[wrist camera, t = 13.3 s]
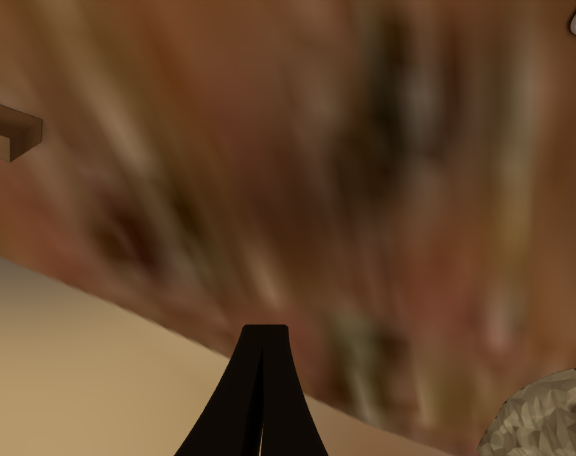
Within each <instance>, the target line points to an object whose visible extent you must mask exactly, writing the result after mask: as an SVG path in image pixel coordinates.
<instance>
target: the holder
mask: <svg viewBox="0 0 576 456" xmlns="http://www.w3.org/2000/svg"><path fill="white" fill-rule="evenodd" d="M41 132H42V120H41V119H38V118H35V117H32V116H29V115H27V114H24V113H21V112H18V111H16V110H13V109H10V108H7V107H4V106H2V105H0V160H3V161H6V162H9V163H10V162H12V161H13V160H15V159H16V158H18V157H19V156H21V155H22V154H24V153H25V152H27V151H28V150H30V149H31V148H33V147H34V146H36V145H37V144H39V143H40V142H41Z"/></svg>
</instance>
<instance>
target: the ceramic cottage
mask: <svg viewBox="0 0 576 456" xmlns="http://www.w3.org/2000/svg"><path fill="white" fill-rule="evenodd" d="M478 451H479V454H480V455H479V456H576V370H574V369H573V368H572V369H568V370H564V371H561V372H557V373H553V374H551V375H548V376H546V377H544V378H542V379H540V380H538V381H536V382H534V383H532V384H530V385H528V386H526V387H525V388H524V389H522V390H520V391H518V392H516V393H515V394H514V395H512V396H511V397H510V398H509V399H508V400H507V402H506V403H504V404H503V406H502V408H501V409H500V411H499V413H498V414H497V418H496V419H494V422H493V423H492V424H491V425H490V427H489V428H488V430H487V433H486V434H485V435H484V437H483V438H482V441H481V442H480V444H479V446H478Z"/></svg>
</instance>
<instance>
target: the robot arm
mask: <svg viewBox="0 0 576 456" xmlns="http://www.w3.org/2000/svg"><path fill="white" fill-rule="evenodd" d="M571 31H572V32H573V33H574V34H575V35H576V15H575V16H574V18H573V20H572V22H571ZM262 429H263V434H262ZM261 437H262V445H261V456H328V454H327V451H326V449H325V447H324V445H323V443H322V440H321V438H320V436H319V434H318V432H317V429H316V426H315V424H314V422H313V419H312V417H311V414H310V411H309V409H308V406H307V403H306V401H305V398H304V395H303V392H302V389H301V386H300V382H299V379H298V376H297V373H296V369H295V366H294V362H293V357H292V353H291V348H290V342H289V333H288V327H287V326H286V325H245V326H244V327H243V328H242V332H241V335H240V337H239V340H238V343H237V345H236V348H235V350H234V352H233V355H232V357H231V359H230V361H229V364H228V366H227V368H226V370H225V372H224V374H223V376H222V378H221V380H220V382H219V384H218V386H217V387H216V390H215V391H214V393H213V395H212V396H211V398H210V400H209V402H208V403H207V405H206V407H205V409H204V411H203V412H202V414H201V415H200V417H199V419H198V420H197V422H196V424H195V425H194V427H193V428H192V430H191V431H190V433H189V435H188V436H187V438H186V439H185V441H184V442H183V443H182V445H181V447H180V448H179V449H178V451H177V452H176V454H175V455H174V456H259V451H260V444H261Z"/></svg>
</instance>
